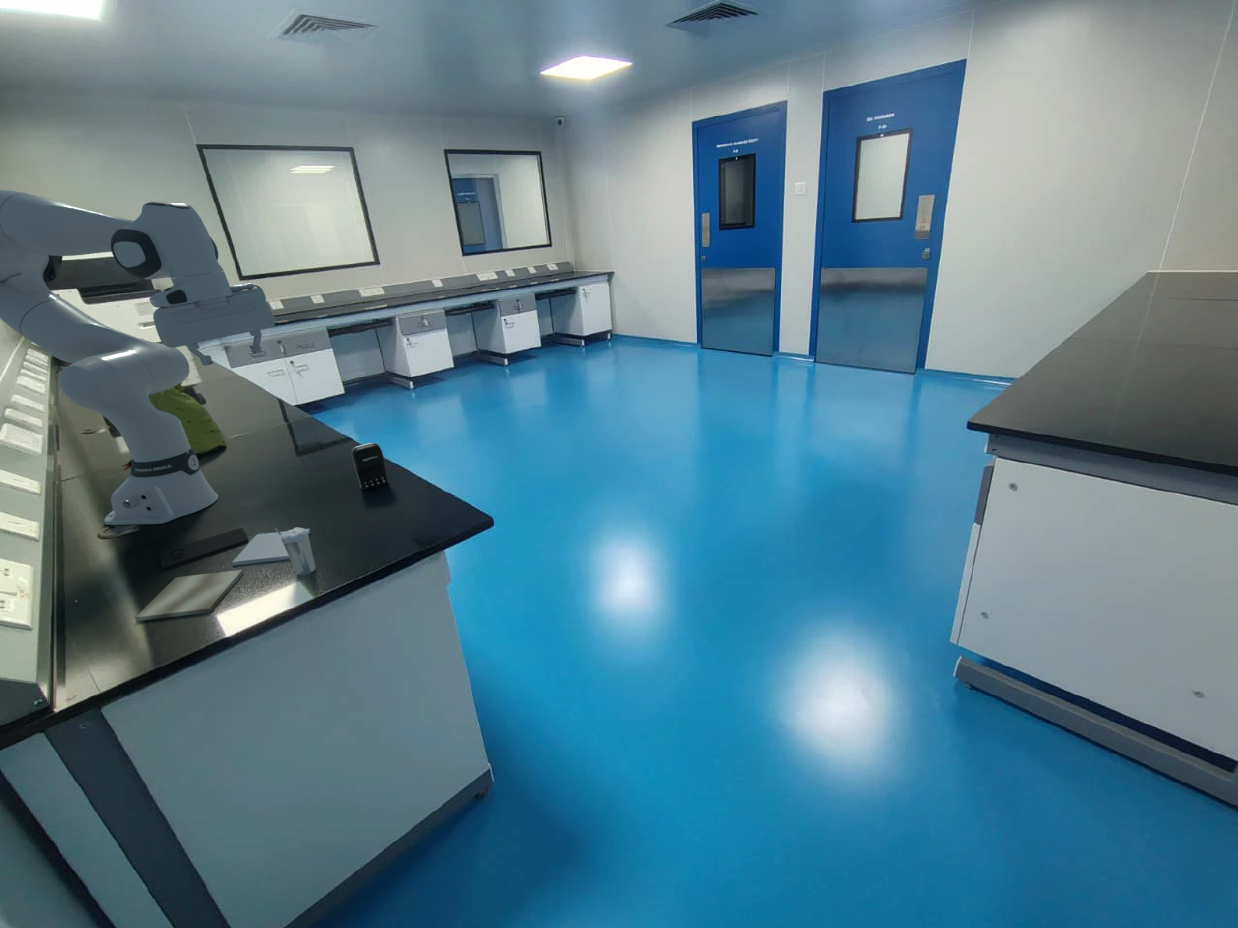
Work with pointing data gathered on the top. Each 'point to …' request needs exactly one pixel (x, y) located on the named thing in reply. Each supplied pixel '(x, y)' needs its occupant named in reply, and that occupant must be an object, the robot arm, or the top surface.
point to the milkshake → (299, 550)
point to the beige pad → (190, 595)
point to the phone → (202, 548)
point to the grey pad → (263, 549)
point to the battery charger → (369, 466)
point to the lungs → (190, 418)
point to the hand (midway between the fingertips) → (233, 358)
